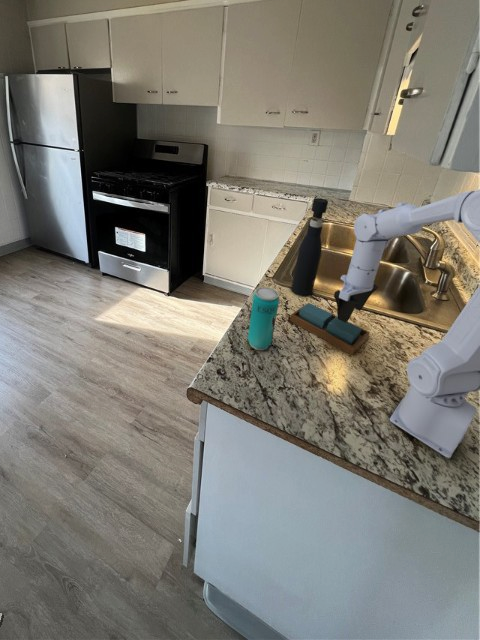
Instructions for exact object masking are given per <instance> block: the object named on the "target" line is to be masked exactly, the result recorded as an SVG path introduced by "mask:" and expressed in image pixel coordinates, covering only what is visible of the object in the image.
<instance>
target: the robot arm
mask: <svg viewBox="0 0 480 640" xmlns="http://www.w3.org/2000/svg"><path fill="white" fill-rule="evenodd" d="M449 221H454V222H455V223H457V224H460V223H462V224H463V226H464V227H465V228H466V230H467V231H468V233H470V234H471V235H472V236H473V238H474V239H475V240H476V242H477V243H479V244H480V188H479V189H476V190H469V191H468V190H467V191H463V192H461V193H457V194H455V195H452V196H450V197H447V198H443V199H440V200H437V201H434V202H431V203H428V204H425V205H422V206H417V205H416V204H413V203H408V202H399V203H396V204H395V207H393V208H390V209H379V210H378V211H377V213H376V214H368V213H362V214H361V215H359V216H358V217H357V218H356V219H355V221H354V224H353V233H354V236H355V238H356V239H355V240H356V241H355V244H354V248H353V252H352V255H351V259H350V262H349V266H348V270H347V274H342V275H341V276H340V280H341V281H342V282H343V286H342V289H341V290H340V289H337V290H336V291H334V293H333V298H334V300H335V302H336V309H337V311H336V313H337V314H336V316H337V317H338V319H339V320H341V321H343V322H345V323H346V322H349V320H350V318H351V316H352V314H353V312H354V310H356V311H359V312H360V311H362V310H363V308H364V307H365V305H366V303H367V302H368V300H369V299H370V297H371V296H372V295H373V294H374V293H375V292H376V291H377V290H378V288H379V286H378V285H377V284H375V283H374V282H375V279H376V277H377V273H378V270H379V266H380V263H381V260H382V257H383V254H384V251H385V249H387V248H388V247H389V244H390V242H391V241H392V240H393V239H396V238H399V237H405V236H410V235H411V236H412V235H415V234H418V233H419V232H421V231H422V230H423V229H424V226H425V225H431V224H437V223H443V222H449ZM406 376H407V379H408V381H409V386H408V389H407V391H406V393H405V395H404V397H403V398H402V399H401V400H400V402H399V403H398V405H397V406H396V408H395V410H394V411H393V413H391V416H390V418H389V421H390V422H391V423H392V424H393V425H395V426H397V427H399V428H400V429H401V430H403V431H405V433H408V434H409V435H410V436H412V437H414V438H416V440H419V441H420V442H422V443H423V444H424V445H426V446H427V447H430V448H431V449H433V450H434V451H435V452H437V453H439V454H441V455H442V456H444V457H445V458H446V459H451V458H452V456H453V454H454V452H455V451H456V449H457V447H458V446H459V444H461V443H462V442H463V440H464V438H465V437H466V432H467V431H468V429H469V427H470V425H471V423H472V421H473V419H474V418H475V415H476V413H477V407H476V406H474V404H471V403H470V402H469V401H467V400H466V399H465V398H467V396H468V395H469V393H472V392H473V393H475V392H478V391H480V284H479V285H478V287H477V288H476V289H475V291H474V293H473V294H472V296H471V297H470V298H469V300H468V301H467V303H466V304H465V306H464V307H463V308H462V310H461V312H460V313H459V314H458V316H457V318H456V319H455V320H454V321H453V323H452V325H451V326H450V328H449V329H448V330H447V332H446V334H445V335H444V337H443V338H442V339H441V340H440V341H438V342H437V343H435V344H433V345H430V346H429V347H427V348H425V349H424V350H423V351H422V352H421V353H420V354H419V355H418V356H416V357H413V358H411V359H410V360H409V361H408V362H407V365H406Z"/></svg>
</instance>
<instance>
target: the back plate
mask: <svg viewBox="0 0 480 640" xmlns="http://www.w3.org/2000/svg"><path fill="white" fill-rule="evenodd" d="M313 305H314V304H313ZM314 306H316V307H318V306H317V305H314ZM318 308H320V309H322V310H324V309H323V308H321V307H318ZM299 312H300V308H298V309H296V310H295V311H294V312H293V313H291V314H290V318H289V321H290V322H291V323H294V324H295V325H296V326H298V327H300V328H302V329H304V330H306V331H308V332H309V333H312V334H313V335H315V336H316V337H319V338H321V339H322V340H324V341H326V342H328V343H329V344H331V345H333V346H335V347H337V348H338V349H341V350H342V351H344V352H346V353H348V354H349V355H351V356H352V355H354V353H356V352H357V351H358V349H360V347H362V345H363V344H364V343H365V342H366V341H367V340H368V339H369V337H370V334H371V332H370V331H368V330H366V329H364V328H362V327H360V326H358V325H356V324H353V323H352V322H350V323H351V324H353V325H355V326H357V327H359V328H361V332H360V335H359V338H358V339H357V340H356V341H355V342H354V343H353V344H352V345H350V344H348V343H346V342H344V341H342V340H341V339H339V338H337V337H335V336H333V335H331V334H329V333H327V332H326V331H327V327H328V325H327V326H326V327H325V328H324V329H320V328H318V327H316V326H314V325H312V324H311V323H309V322H307V321H305V320H303V319H301V318H299ZM331 314H332V318H331V321H332V320H333V319H334V318H335V317H338V315H336V314H334V313H331Z"/></svg>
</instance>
